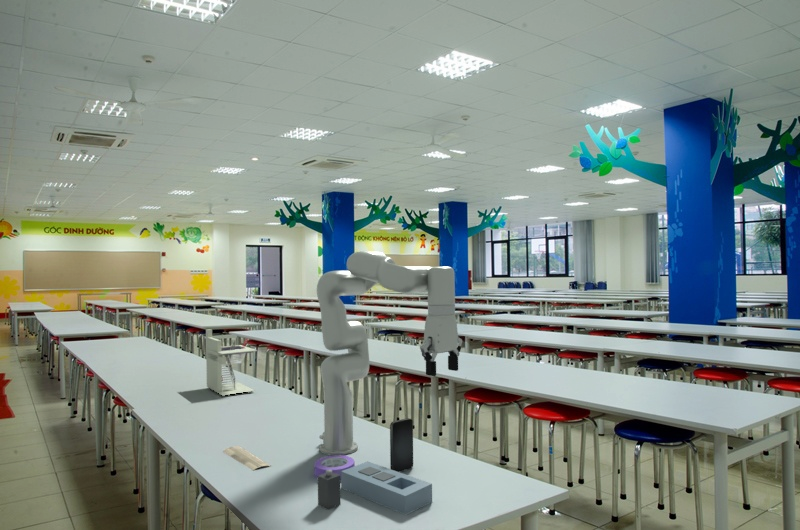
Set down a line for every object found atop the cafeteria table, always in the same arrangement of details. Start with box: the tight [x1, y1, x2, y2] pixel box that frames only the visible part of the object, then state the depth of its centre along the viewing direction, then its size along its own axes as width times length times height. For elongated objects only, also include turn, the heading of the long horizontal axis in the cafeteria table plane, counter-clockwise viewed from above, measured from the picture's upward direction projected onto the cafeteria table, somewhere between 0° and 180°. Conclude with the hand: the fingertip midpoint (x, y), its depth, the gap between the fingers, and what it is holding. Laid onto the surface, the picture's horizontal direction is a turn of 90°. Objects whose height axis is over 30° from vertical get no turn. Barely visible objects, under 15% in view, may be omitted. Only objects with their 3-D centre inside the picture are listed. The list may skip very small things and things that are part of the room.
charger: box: [317, 470, 341, 511], centre depth 135 cm, size 4×4×9 cm
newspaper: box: [222, 445, 271, 471], centre depth 169 cm, size 24×7×2 cm, turn 39°
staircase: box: [205, 328, 258, 397], centre depth 274 cm, size 27×18×30 cm
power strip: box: [340, 461, 433, 516], centre depth 142 cm, size 28×10×5 cm, turn 47°
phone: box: [389, 417, 414, 473], centre depth 158 cm, size 8×1×15 cm, turn 128°
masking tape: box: [314, 455, 356, 481], centre depth 156 cm, size 12×12×4 cm
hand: (442, 372), depth 148 cm, fingers open, 9 cm apart
